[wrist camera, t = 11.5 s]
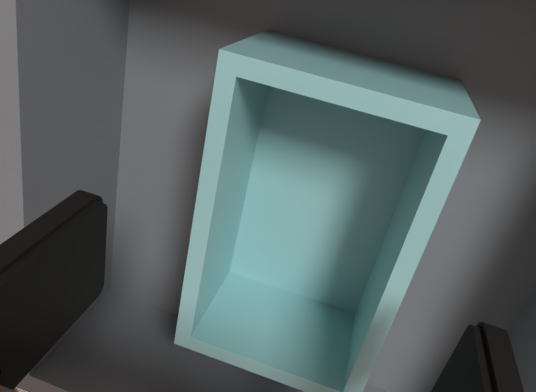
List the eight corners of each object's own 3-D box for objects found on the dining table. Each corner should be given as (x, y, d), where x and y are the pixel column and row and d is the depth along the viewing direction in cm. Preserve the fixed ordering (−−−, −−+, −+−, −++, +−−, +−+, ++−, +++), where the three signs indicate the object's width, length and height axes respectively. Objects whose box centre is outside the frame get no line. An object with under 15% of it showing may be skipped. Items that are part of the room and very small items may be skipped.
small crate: (267, 29, 17) (218, 48, 13) (460, 80, 16) (480, 119, 12) (219, 270, 22) (173, 343, 18) (365, 320, 21) (354, 410, 17)
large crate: (128, -149, 17) (-31, -219, 11) (736, -14, 14) (990, -5, 8) (102, 287, 26) (9, 383, 20) (467, 420, 23) (488, 578, 17)
